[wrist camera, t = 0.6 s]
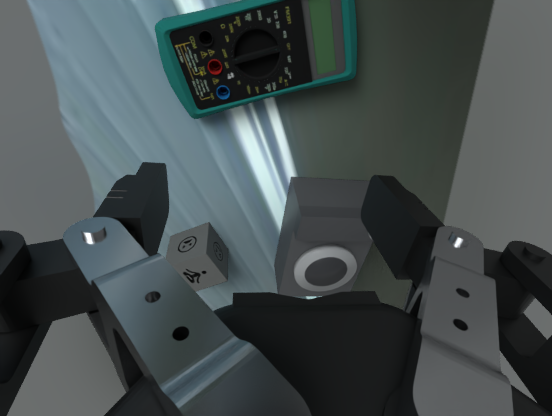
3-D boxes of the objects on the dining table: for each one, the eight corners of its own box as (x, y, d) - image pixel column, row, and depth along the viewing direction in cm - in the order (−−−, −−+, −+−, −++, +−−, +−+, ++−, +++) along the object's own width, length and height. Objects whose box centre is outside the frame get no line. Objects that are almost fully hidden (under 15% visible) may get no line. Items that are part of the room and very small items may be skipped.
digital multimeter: (151, 20, 24) (142, 27, 21) (344, -33, 23) (356, -32, 20) (189, 111, 28) (185, 125, 26) (350, 70, 27) (361, 80, 25)
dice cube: (170, 235, 37) (163, 268, 33) (208, 221, 36) (206, 253, 32) (192, 261, 40) (188, 294, 36) (228, 248, 39) (227, 280, 35)
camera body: (291, 176, 33) (302, 220, 28) (370, 181, 35) (396, 223, 29) (274, 265, 42) (280, 312, 36) (338, 265, 43) (353, 311, 37)
